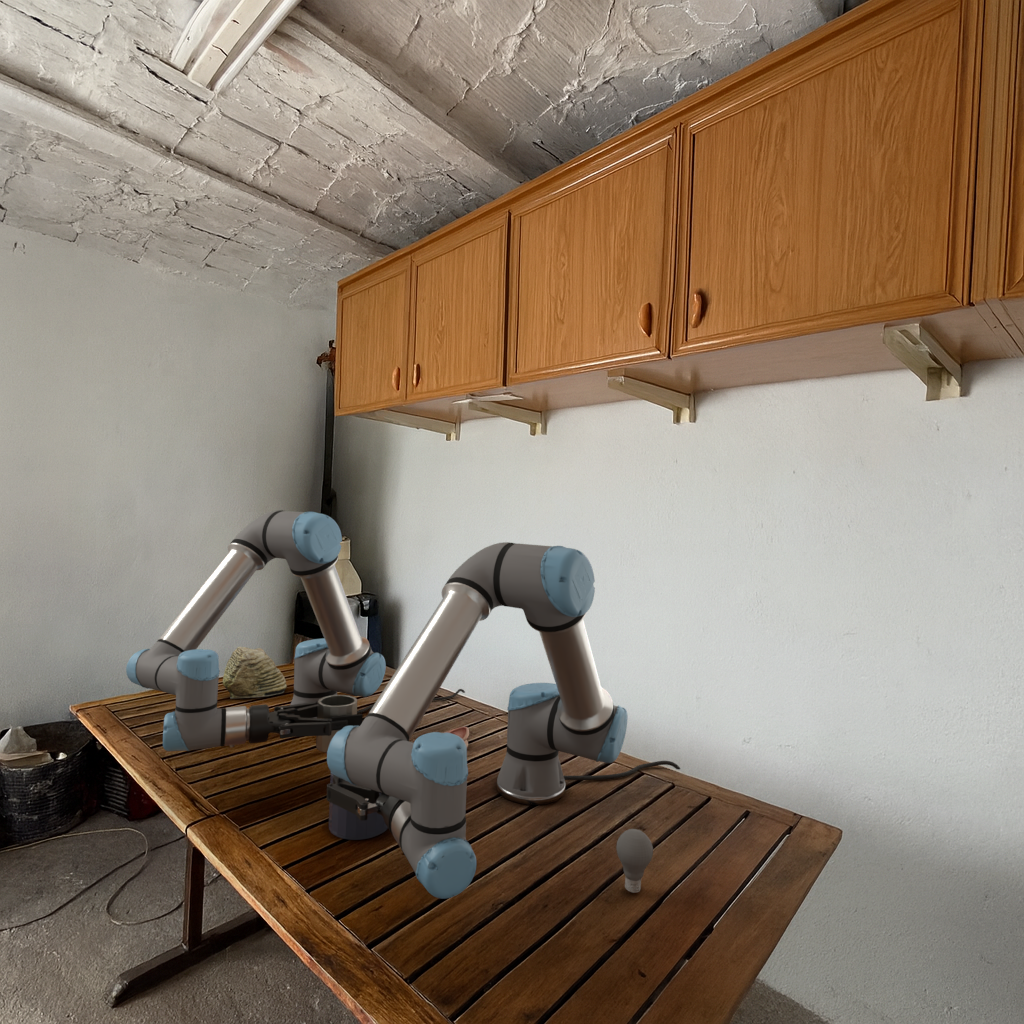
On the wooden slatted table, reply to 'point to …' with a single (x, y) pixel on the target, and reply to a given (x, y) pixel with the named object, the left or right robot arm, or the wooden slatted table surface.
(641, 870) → the light bulb
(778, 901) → the wooden slatted table surface
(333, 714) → the cup
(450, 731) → the anatomical model
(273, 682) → the fossil
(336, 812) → the tub
